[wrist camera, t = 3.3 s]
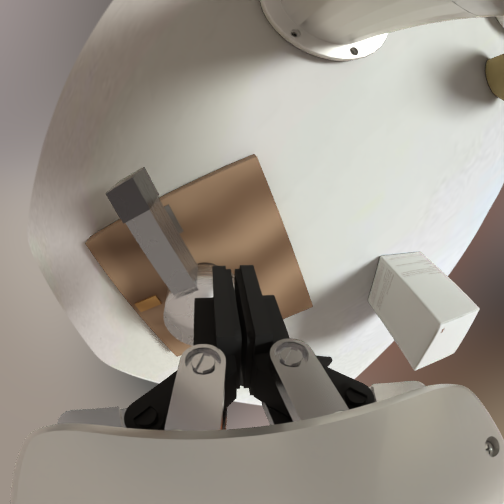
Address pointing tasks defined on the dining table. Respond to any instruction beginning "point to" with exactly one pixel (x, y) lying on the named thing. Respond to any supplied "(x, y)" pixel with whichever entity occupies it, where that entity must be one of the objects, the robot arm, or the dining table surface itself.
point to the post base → (209, 243)
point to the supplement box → (420, 307)
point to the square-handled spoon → (163, 251)
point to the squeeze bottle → (496, 75)
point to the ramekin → (501, 20)
